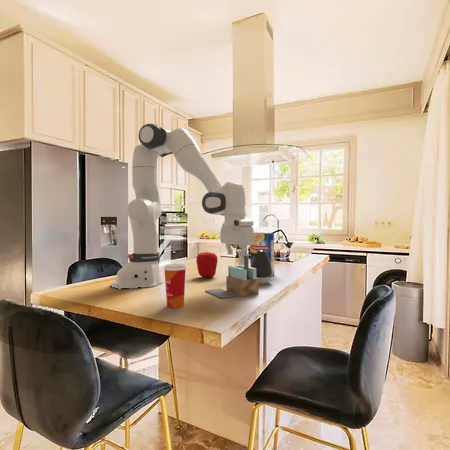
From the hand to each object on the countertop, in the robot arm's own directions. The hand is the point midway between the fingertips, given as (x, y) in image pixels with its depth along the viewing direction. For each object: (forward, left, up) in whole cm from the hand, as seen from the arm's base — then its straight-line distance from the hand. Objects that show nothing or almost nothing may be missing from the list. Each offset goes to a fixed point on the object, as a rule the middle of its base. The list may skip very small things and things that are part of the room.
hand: (236, 255), depth 129 cm
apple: (+3, +32, -15) cm, 35 cm away
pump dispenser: (+17, +6, -15) cm, 23 cm away
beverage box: (+30, +21, -15) cm, 39 cm away
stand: (0, -4, -14) cm, 15 cm away
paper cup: (-30, -8, -15) cm, 35 cm away
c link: (0, -4, -8) cm, 9 cm away
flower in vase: (+17, +23, -15) cm, 32 cm away
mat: (-9, -2, -14) cm, 17 cm away
